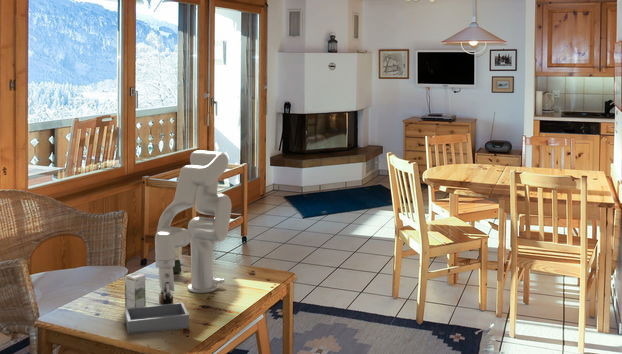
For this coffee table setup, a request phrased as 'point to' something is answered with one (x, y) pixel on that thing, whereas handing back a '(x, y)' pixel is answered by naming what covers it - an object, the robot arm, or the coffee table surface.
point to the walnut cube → (161, 297)
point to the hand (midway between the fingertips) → (166, 304)
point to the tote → (156, 318)
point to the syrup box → (135, 290)
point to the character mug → (177, 260)
